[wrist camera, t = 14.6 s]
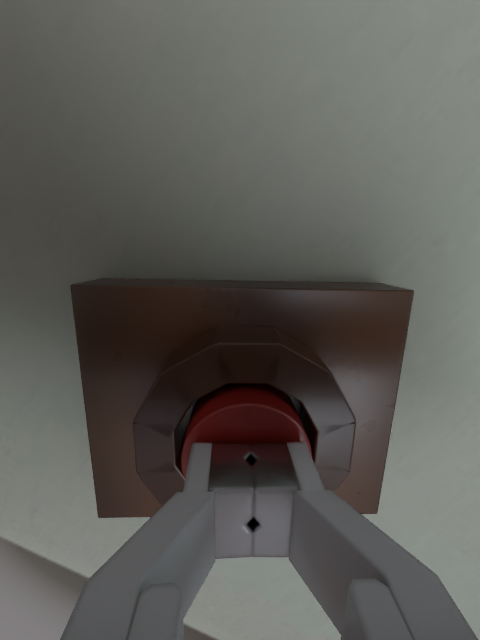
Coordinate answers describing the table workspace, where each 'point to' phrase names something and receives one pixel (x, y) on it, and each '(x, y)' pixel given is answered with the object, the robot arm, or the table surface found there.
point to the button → (243, 418)
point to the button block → (235, 375)
